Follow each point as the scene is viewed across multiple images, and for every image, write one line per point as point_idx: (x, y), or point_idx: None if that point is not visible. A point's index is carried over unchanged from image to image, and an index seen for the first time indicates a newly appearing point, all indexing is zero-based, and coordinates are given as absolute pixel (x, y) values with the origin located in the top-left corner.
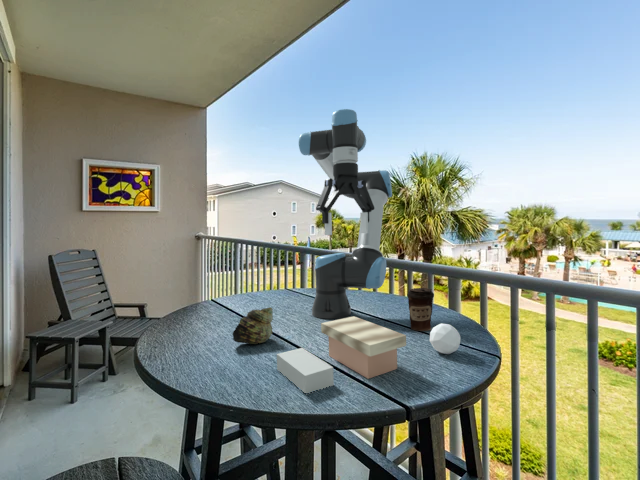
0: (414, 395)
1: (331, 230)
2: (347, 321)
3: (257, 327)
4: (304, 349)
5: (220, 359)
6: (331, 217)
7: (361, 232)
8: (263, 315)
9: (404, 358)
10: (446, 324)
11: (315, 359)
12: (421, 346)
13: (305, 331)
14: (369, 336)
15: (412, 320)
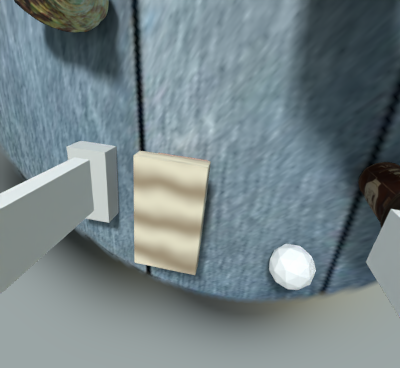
0: (168, 270)
1: (74, 224)
2: (175, 181)
3: (58, 22)
4: (104, 160)
5: (18, 44)
6: (5, 288)
7: (389, 219)
8: (60, 7)
9: (231, 227)
10: (297, 283)
11: (102, 194)
12: (287, 222)
13: (196, 12)
14: (154, 246)
15: (367, 182)
